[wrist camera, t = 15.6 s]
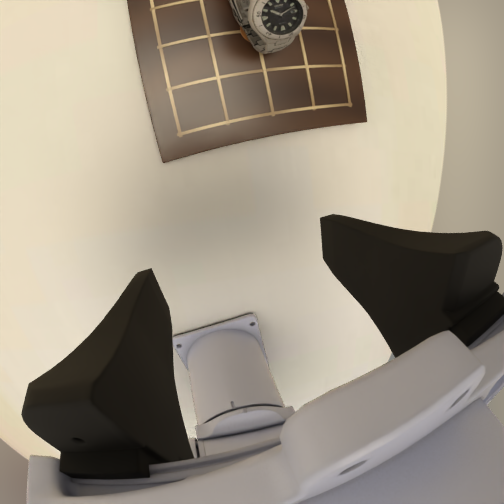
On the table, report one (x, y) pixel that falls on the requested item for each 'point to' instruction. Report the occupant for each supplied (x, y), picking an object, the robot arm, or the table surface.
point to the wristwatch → (270, 22)
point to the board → (241, 75)
